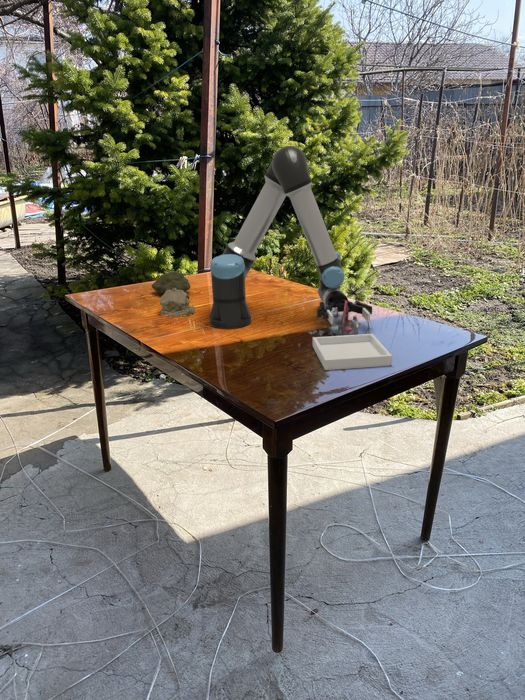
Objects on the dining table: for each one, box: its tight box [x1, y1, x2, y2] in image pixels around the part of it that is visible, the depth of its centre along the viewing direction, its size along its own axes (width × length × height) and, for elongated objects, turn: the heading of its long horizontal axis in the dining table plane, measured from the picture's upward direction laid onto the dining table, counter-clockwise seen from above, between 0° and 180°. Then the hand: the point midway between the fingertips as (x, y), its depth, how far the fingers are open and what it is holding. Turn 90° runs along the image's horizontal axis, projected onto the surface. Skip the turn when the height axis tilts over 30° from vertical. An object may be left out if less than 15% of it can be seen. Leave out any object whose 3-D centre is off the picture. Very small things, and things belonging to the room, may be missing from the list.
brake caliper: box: [328, 301, 360, 336], centre depth 174 cm, size 11×11×12 cm
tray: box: [312, 333, 393, 371], centre depth 156 cm, size 19×19×3 cm
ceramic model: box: [159, 288, 196, 317], centre depth 202 cm, size 14×11×10 cm
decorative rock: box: [151, 270, 191, 294], centre depth 229 cm, size 15×16×10 cm
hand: (350, 318), depth 168 cm, fingers open, 11 cm apart
